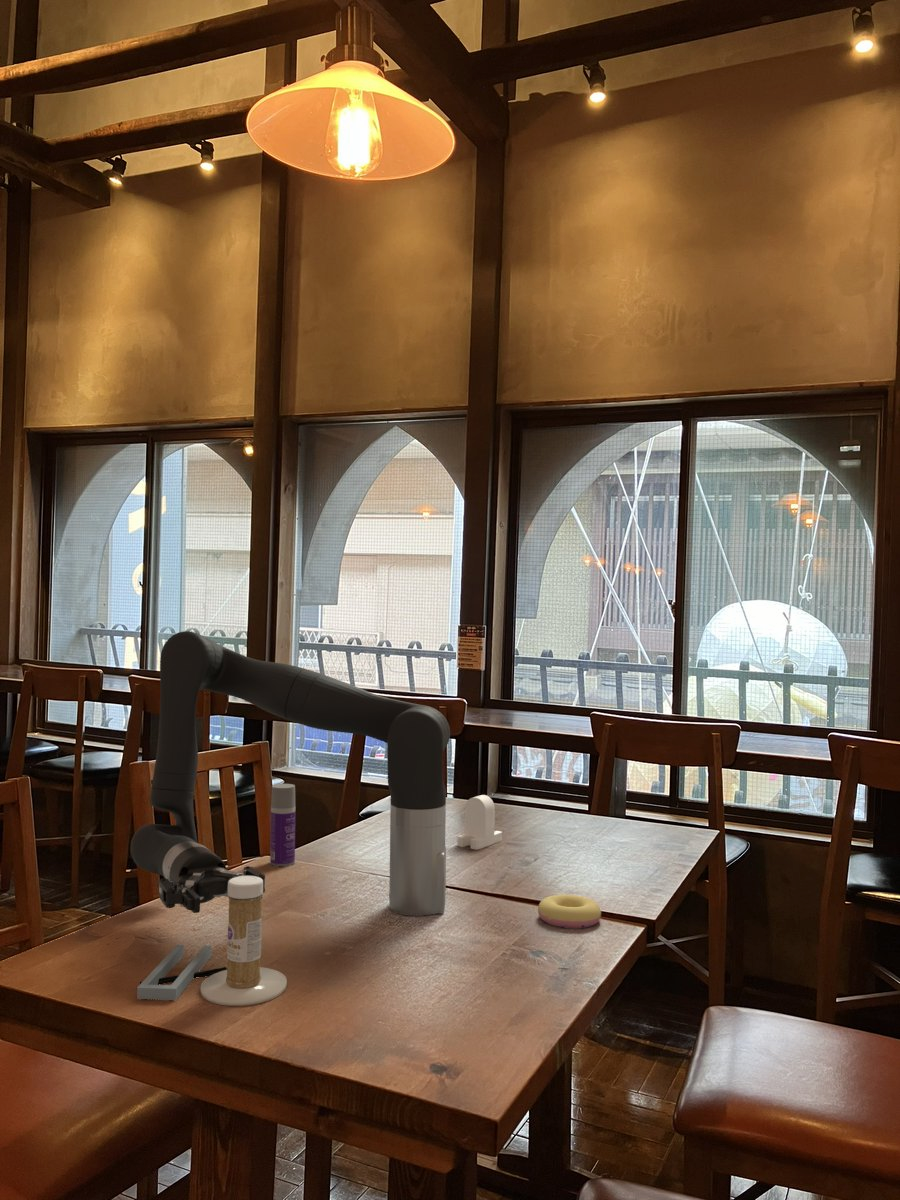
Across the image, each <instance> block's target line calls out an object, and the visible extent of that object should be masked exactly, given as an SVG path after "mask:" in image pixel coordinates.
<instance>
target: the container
mask: <svg viewBox="0 0 900 1200" xmlns="http://www.w3.org/2000/svg"><path fill="white" fill-rule="evenodd" d="M269 842H270V848H269V849H270V851H269V852H270V855H269V856H270V857H269V859H270V860H269V862H270V863H269V864H270V866H272V865H273V867H276V866H285V867H290V866H289V865H291V866H293V865H295V863H296V861H295V859H296V785H295V784H294V783H293V784H292V783H276V784H273V785H271V802H270V841H269ZM292 864H293V865H292Z"/></svg>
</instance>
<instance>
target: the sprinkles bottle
mask: <svg viewBox="0 0 900 1200" xmlns="http://www.w3.org/2000/svg"><path fill="white" fill-rule="evenodd" d="M263 895H264V893H263V880H262V879H261V878H260V877H256V876H239V877H235V878H232V879H230V880H229V881H228V896H229V897H227V898H228V924H227V946H226V947H227V949H226V951H227V952H226V957H227V960H226V961H227V966H226V968H227V977H226V983H227V984H228V985H229V986H231V987H236V988H246V987H250V986H253V985H256V984H258V983H259V982H260V980H261V976H260V967H261V956H262V927H263V925H262V923H263V922H262V899H263ZM261 898H262V899H261Z"/></svg>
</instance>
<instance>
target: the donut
mask: <svg viewBox="0 0 900 1200" xmlns="http://www.w3.org/2000/svg"><path fill="white" fill-rule="evenodd" d="M537 911H538V915H539V918H541V920H542V921H544V922H545V923H546V924H549V925H551V926H554V927H557V928H558V927H559V928H564V929H585V928H589V927H593V926H594V925H596V924H598V922H599V921H600V919H601V916H602V909H601V907H600V906H599V904H598V903H597V902H596V901H595V900H593V899H591V898H588V897H584V896H582V895H581V896H580V895H573V894H554V895H550V896H549V895H548V897H545V898H543V899H542V900H541V901H540V902H539V904H538V907H537Z"/></svg>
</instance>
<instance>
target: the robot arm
mask: <svg viewBox="0 0 900 1200" xmlns="http://www.w3.org/2000/svg"><path fill="white" fill-rule="evenodd" d="M159 663H160V664H159V680H160V681H159V683H160V684H159V685H160V687H159V690H160V694H159V695H160V696H159V697H160V699H159V727H158V739H157V746H156V757H155V762H154V768H153V769H154V770H153V775H152V781H151V788H150V794H149V795H150V796H149V804H150V805H151V806H152V807H153V808H155V809H159V810H161V811H166V812H169V813H171V814H172V815H173V819H174V820H175V824H159V823H149V824H148V823H147V824H145V825H142V826H140V827H139V828H138V829H137V830H136V831H135V832H134V834H133V836H132V838H131V842H130V849H129V850H130V854H131V858H132V860H133V862H134V864H135V865H136V866H138V868H140V869H142V870H144V871H147V872H149V873H152V874H155V875H159V876H162V877H163V878H161V879H159V880H158V898H159V899H160V901H161V902H162V904H163V905H164V906H165V908H167V909H173V908H175V906H176V905H177V904H178V905H180V906H179V907H181V908H185V909H186V910H187V911H191V912H192V913H193V914H197V913H200V911H201V904H205V903H207V902H210V901H213V899H215V898H221V897H225V898H228V897H229V896H228V881H229V880H230V879H232V878H235V877H239V876H256V877H260V878H261V879H262V880H263V894H264V893H265V892H266V886H265V883H266V875H265V874H264V873H262V872H261V871H259V870H257V869H255V868H254V867H253V866H249V865H248V866H244V867H243V872H242V871H234V870H230V869H228V868H227V867H226V864H225V862H224V861H223V859H222V858H221V857H220V856H218V855H217V854H216V853H215V852H213V851H212V850H210V848H207V847H206V846H205V845H203V844H201V843H198V838H197V830H196V825H195V814H194V812H195V811H194V797H195V796H194V795H195V788H196V781H197V776H198V775H197V774H198V766H199V764H198V763H199V751H198V739H197V725H196V717H197V716H196V715H197V703H198V697H199V693H200V690H201V691H207V692H212V693H216V694H217V693H218V694H222V695H225V696H229V697H230V696H231V697H235V698H238V699H240V700H243V701H246V702H248V703H249V704H252V705H254V706H256V707H257V708H259V709H262V710H264V711H265V712H267V713H270V714H272V715H274V716H276V717H279V718H282V719H284V720H286V721H291V722H293V723H296V724H300V725H302V726H305V727H309V728H313V729H317V730H323V731H328V732H336V733H345V734H346V733H347V734H353V735H354V734H355V735H361V736H366V737H369V738H372V739H375V740H378V741H380V742H384V743H386V744H387V751H386V753H387V756H386V757H387V759H386V760H387V761H386V762H387V786H388V791H389V794H390V812H389V813H390V814H389V815H390V817H389V818H390V819H389V835H390V836H389V890H388V891H389V893H388V899H389V905H388V906H389V909H390V910H391V911H392V912H394V913H396V914H400V915H405V916H429V915H435V914H444V913H445V908H446V907H445V906H446V892H447V891H446V885H447V883H446V882H447V881H446V880H447V879H446V878H447V876H446V873H447V872H446V871H447V846H446V827H447V826H446V824H447V823H446V821H447V820H446V817H447V815H446V813H447V811H446V809H447V808H446V807H447V806H446V805H447V790H446V786H445V784H444V750H445V749H446V747H447V746H448V744H449V742H450V737H451V729H450V728H451V727H450V724H449V722H448V720H447V718H446V717H445V716H444V715H443V713H442V712H440V711H439V710H437V709H436V708H434V707H432V706H428V705H424V704H417V703H412V702H407V701H402V700H398V699H394V698H389V697H385V696H382V695H378V694H375V693H372V692H371V691H368V690H366V689H364V688H361V687H358V686H356V685H354V684H350V683H348V682H345V681H342V680H340V679H337V678H334V677H331V676H328V675H326V674H324V673H320V672H318V671H314V670H310V669H307V668H305V667H301V666H295V665H292V664H287V663H283V662H282V663H281V662H273V661H265V660H261V659H260V660H259V659H254V658H252V657H249V656H246V655H244V654H241V653H238V652H236V651H234V650H231V649H229V648H227V647H224V646H223V645H221V644H219V643H217V642H216V641H214V640H212V639H210V638H208V637H206V636H204V635H202V634H200V633H198V632H194V631H189V630H188V631H185V630H184V631H179V632H176V633H174V634H173V635H172V636H170V637H169V638H168V639H167V640H166V641H165V642H164V645H163V646H162V649H161V652H160V658H159ZM262 899H263V897H262V898H261V900H262Z"/></svg>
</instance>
